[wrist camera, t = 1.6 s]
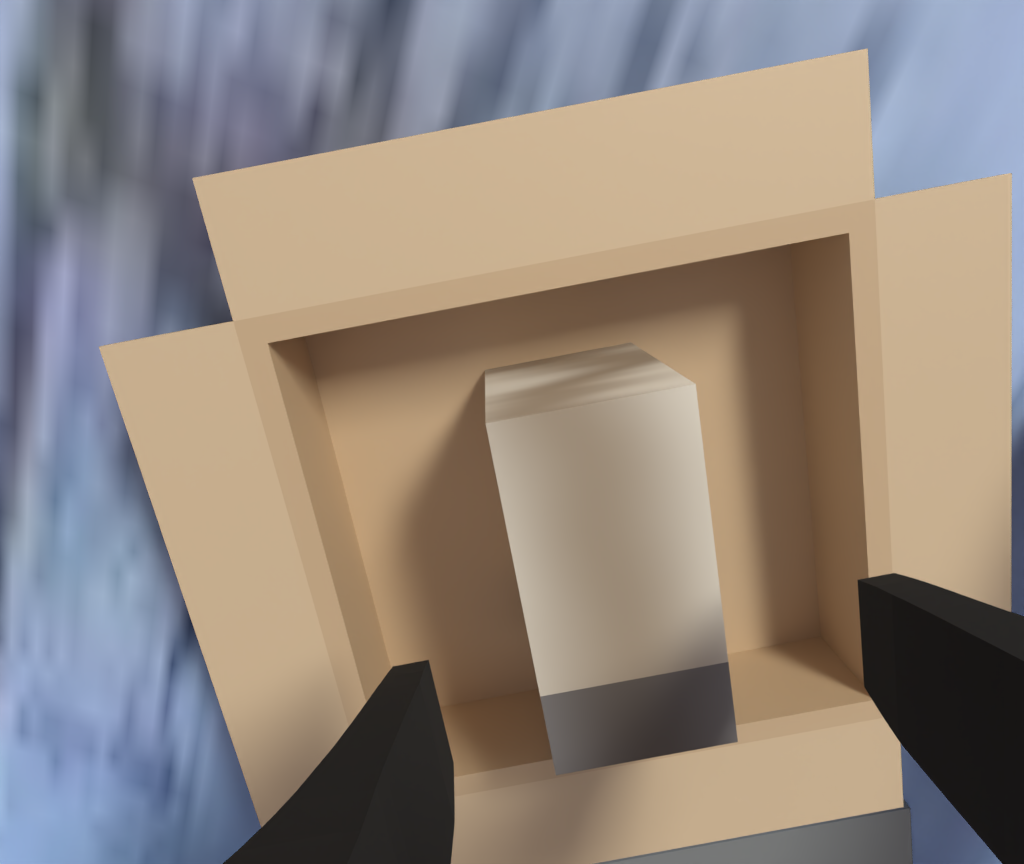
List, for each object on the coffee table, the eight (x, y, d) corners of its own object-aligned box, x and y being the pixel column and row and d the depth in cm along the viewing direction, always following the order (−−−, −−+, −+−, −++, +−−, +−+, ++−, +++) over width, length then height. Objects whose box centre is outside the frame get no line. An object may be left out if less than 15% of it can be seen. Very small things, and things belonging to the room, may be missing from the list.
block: (630, 342, 19) (695, 383, 13) (667, 605, 21) (737, 742, 15) (484, 369, 19) (485, 423, 13) (536, 630, 21) (555, 775, 15)
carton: (911, 64, 18) (1011, 20, 14) (932, 707, 23) (1011, 787, 19) (132, 213, 18) (51, 205, 15) (320, 820, 23) (292, 918, 20)
